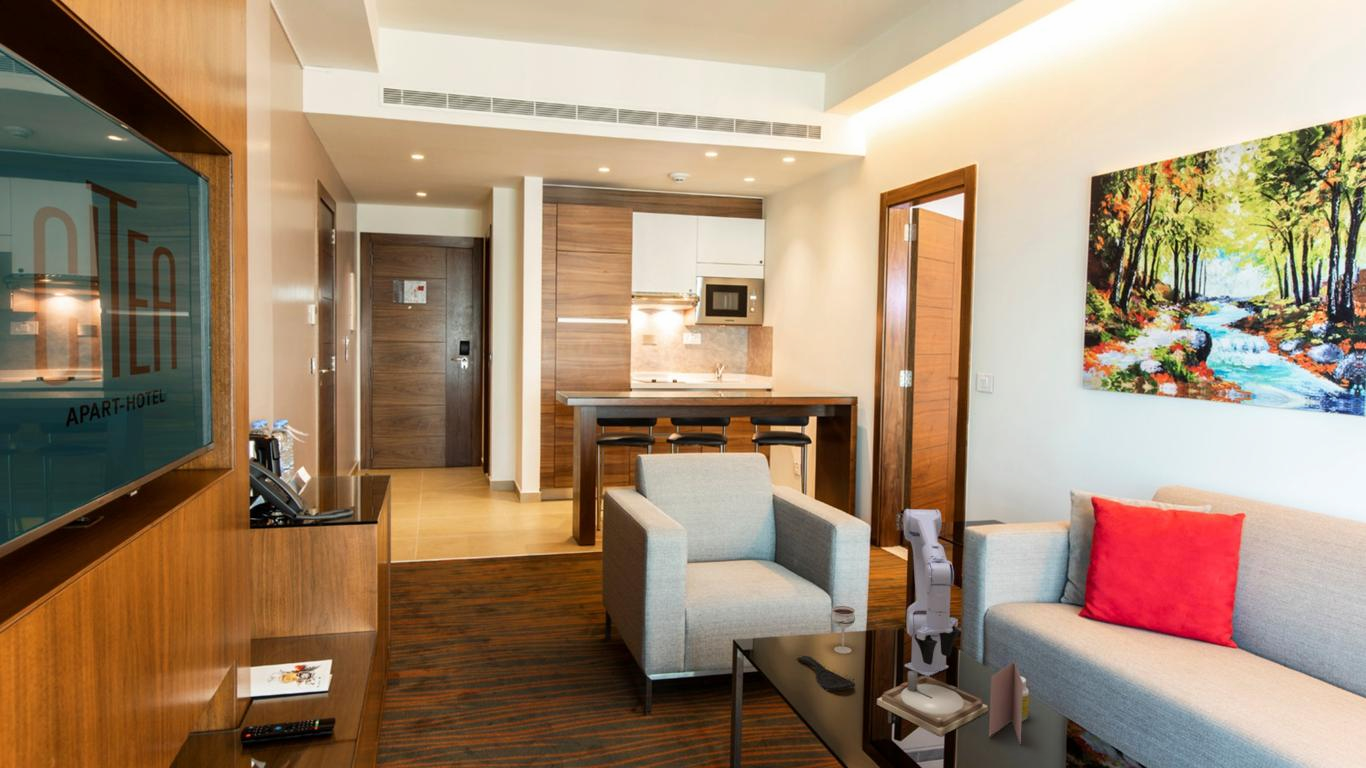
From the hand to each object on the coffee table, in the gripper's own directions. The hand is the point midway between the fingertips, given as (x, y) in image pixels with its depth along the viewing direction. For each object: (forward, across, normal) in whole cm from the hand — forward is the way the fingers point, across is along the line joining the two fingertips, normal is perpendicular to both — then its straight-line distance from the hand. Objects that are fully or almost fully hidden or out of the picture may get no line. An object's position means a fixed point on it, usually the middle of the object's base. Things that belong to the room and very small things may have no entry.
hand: (936, 659), depth 215 cm
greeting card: (+10, -2, -23) cm, 25 cm away
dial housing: (+9, -7, -4) cm, 12 cm away
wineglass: (+10, +1, +33) cm, 34 cm away
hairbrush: (+10, -16, +25) cm, 31 cm away
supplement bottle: (+10, +6, -19) cm, 22 cm away
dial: (+8, -7, -4) cm, 11 cm away
